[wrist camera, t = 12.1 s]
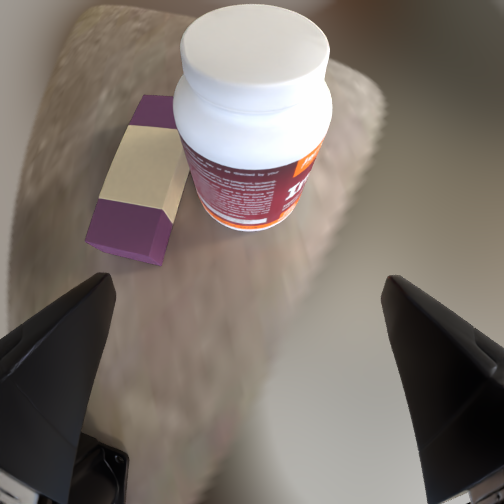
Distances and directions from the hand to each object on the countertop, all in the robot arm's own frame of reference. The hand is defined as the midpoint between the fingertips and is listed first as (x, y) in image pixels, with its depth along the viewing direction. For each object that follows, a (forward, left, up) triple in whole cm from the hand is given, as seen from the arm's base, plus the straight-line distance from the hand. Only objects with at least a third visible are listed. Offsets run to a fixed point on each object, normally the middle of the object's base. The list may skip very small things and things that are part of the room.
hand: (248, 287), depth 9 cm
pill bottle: (+7, +1, -8) cm, 11 cm away
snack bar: (+6, +7, -8) cm, 12 cm away
